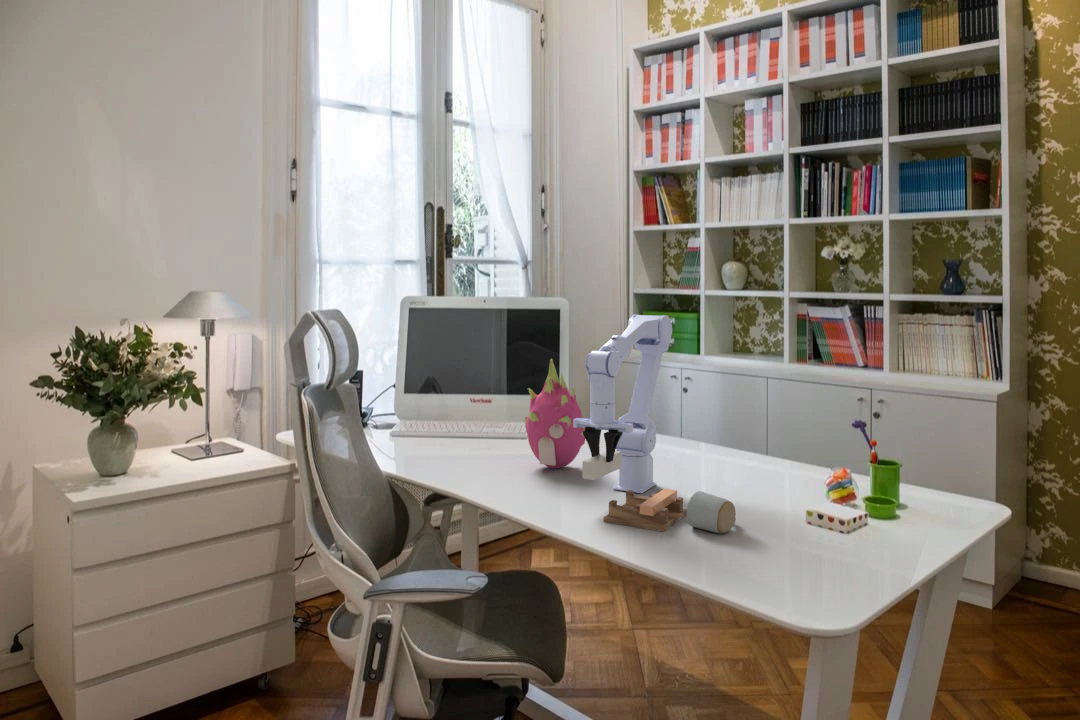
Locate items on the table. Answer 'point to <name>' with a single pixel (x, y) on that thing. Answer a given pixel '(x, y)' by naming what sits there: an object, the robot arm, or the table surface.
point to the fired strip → (658, 502)
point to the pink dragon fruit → (554, 423)
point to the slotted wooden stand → (632, 516)
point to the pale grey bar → (600, 466)
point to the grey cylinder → (710, 513)
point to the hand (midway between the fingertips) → (602, 460)
